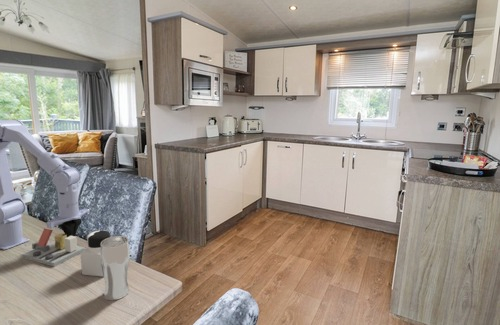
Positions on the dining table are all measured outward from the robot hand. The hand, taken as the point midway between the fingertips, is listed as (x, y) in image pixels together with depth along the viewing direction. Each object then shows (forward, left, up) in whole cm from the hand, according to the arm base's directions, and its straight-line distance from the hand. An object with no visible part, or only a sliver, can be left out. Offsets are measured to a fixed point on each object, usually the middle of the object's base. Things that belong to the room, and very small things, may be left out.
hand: (71, 239), depth 96 cm
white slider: (+5, -4, -1) cm, 6 cm away
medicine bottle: (+21, -7, -3) cm, 22 cm away
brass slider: (0, -4, -1) cm, 4 cm away
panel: (0, -6, -3) cm, 6 cm away
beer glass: (+34, -14, -3) cm, 37 cm away
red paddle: (-5, -7, -1) cm, 9 cm away
